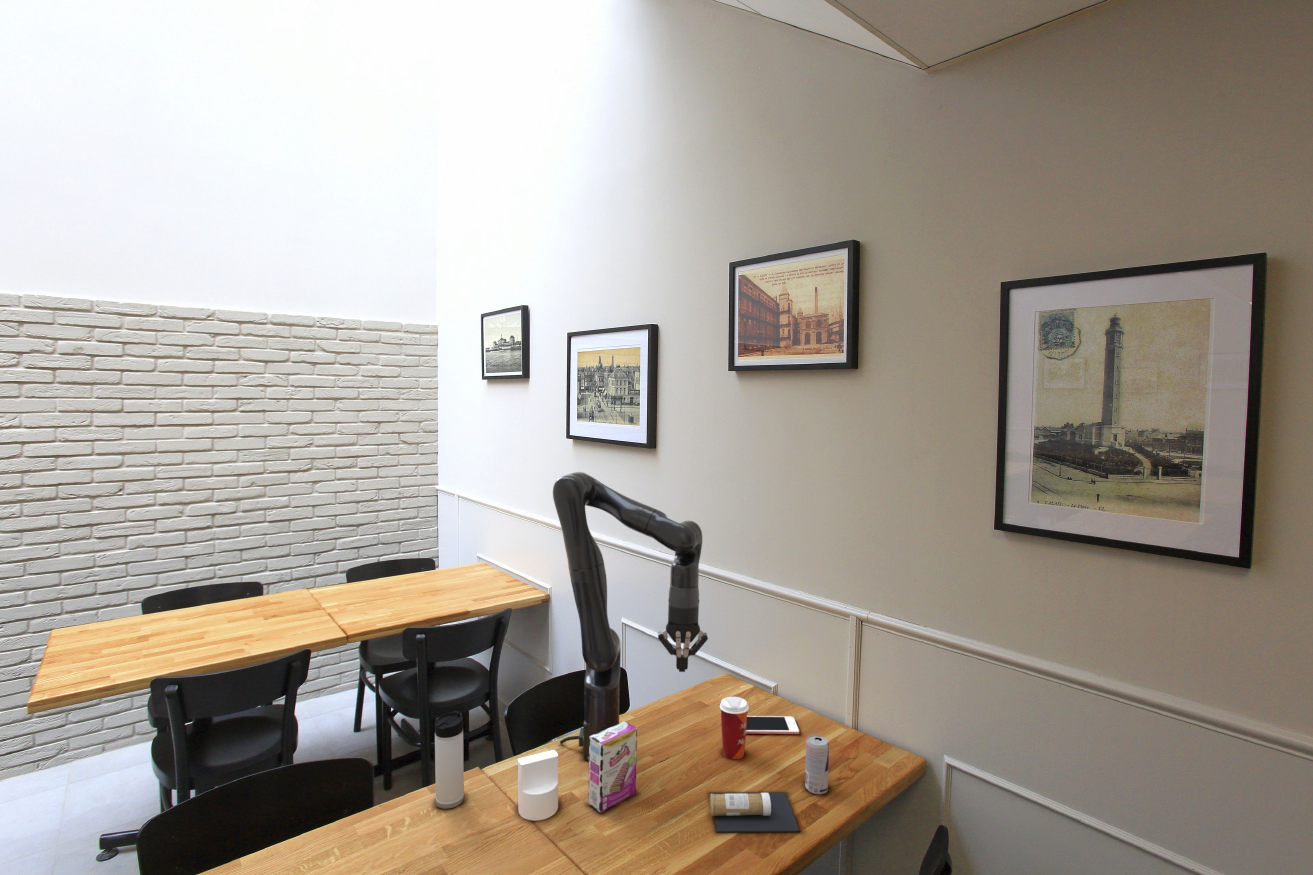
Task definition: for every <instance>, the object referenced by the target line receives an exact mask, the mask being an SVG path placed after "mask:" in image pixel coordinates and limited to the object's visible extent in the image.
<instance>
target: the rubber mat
mask: <svg viewBox="0 0 1313 875" xmlns="http://www.w3.org/2000/svg"><path fill="white" fill-rule="evenodd" d="M740 793H747V794H758V793H769V796H770V801H771V815H770V816H762V815H739V816H713V821H714V826H715V832H716V833H717V834H719V833H720V834H722V833H723V834H729V833H730V834H731V833H733V834H735V833H737V834H738V833H739V834H740V833H745V834H746V833H747V834H748V833H749V834H750V833H800V829H799V826H798V823H797V821H796V818H795V815H794V812H793V810H792V806H791V804H790V801H789V798H788V796H787V793H786V791H765V792H764V791H763V792H762V791H761V792H759V791H757V792H755V791H752V792H751V791H750V792H749V791H747V792H745V791H744V792H741V791H739V792H736V791H735V792H731V791H729V792H728V791H727V792H726V791H725V792H710V793H709V795H710V794H740Z"/></svg>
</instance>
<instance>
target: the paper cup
mask: <svg viewBox="0 0 1313 875" xmlns="http://www.w3.org/2000/svg"><path fill="white" fill-rule="evenodd" d="M749 709H750V707H749V704H748V701H747V700H746V699H744V698H743V697H740V696H727V697H724V698H722V700H721V701H720V704H719V710H720V719H721V720H720V721H721V722H720V723H721V742H722V743H721V744H722V754H723V756H724V757H725V758H726V759H727V758H728V759H730V760H740V759H742V758H743V757H744V755H745V748H746V737H747V736H746V735H747V733H746V723H747V716H748V711H749Z"/></svg>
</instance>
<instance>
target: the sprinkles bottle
mask: <svg viewBox="0 0 1313 875" xmlns="http://www.w3.org/2000/svg"><path fill="white" fill-rule="evenodd" d="M709 811H710V816H711V817H714V816H739V815H762V816H770V815H771V801H770V796H769V793H758V794H747V793H740V794H710V793H709Z"/></svg>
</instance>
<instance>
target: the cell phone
mask: <svg viewBox="0 0 1313 875" xmlns="http://www.w3.org/2000/svg"><path fill="white" fill-rule="evenodd" d="M748 734H752V735H755V734H756V735H757V734H761V735H766V734H767V735H799V734H800V729H799V727H798V724H797V722H796V720H795V717H794V716H784V715H747V723H746V735H748Z"/></svg>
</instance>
